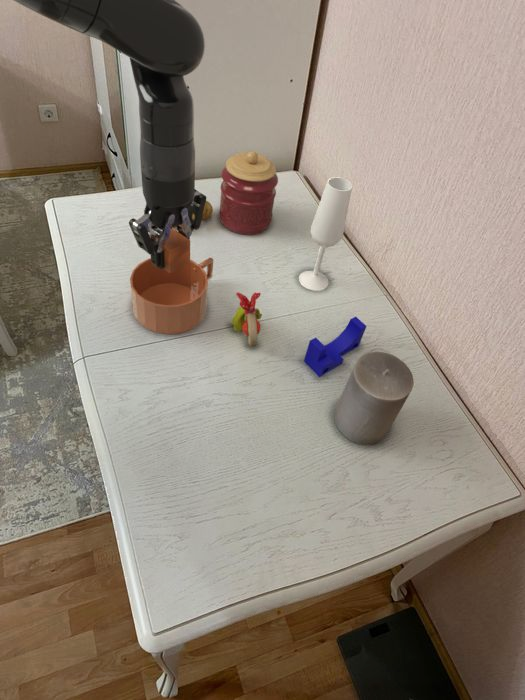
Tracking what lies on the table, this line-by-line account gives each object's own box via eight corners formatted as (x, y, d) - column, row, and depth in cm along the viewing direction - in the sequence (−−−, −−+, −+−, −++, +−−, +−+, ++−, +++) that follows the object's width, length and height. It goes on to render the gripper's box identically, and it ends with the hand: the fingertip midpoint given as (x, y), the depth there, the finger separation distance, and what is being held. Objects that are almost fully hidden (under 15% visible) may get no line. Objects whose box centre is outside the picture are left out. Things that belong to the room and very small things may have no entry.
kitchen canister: (277, 234, 121) (289, 167, 108) (224, 238, 118) (230, 168, 104) (263, 203, 129) (272, 137, 116) (213, 205, 125) (217, 137, 112)
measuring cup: (168, 346, 94) (167, 318, 89) (117, 306, 99) (113, 277, 94) (235, 298, 105) (239, 271, 99) (187, 264, 110) (187, 236, 104)
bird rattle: (266, 349, 100) (258, 307, 102) (279, 331, 89) (270, 284, 91) (235, 353, 98) (228, 309, 100) (245, 335, 88) (237, 287, 90)
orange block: (169, 273, 82) (169, 251, 78) (151, 260, 83) (150, 238, 80) (190, 261, 84) (190, 240, 81) (171, 248, 86) (171, 226, 82)
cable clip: (319, 377, 94) (326, 356, 90) (303, 361, 96) (309, 340, 92) (363, 351, 100) (372, 331, 95) (348, 337, 102) (355, 316, 97)
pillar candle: (390, 408, 91) (419, 355, 80) (383, 453, 85) (414, 403, 74) (338, 392, 92) (360, 338, 81) (328, 435, 86) (350, 383, 75)
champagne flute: (312, 266, 115) (337, 170, 97) (334, 282, 112) (364, 186, 94) (292, 278, 111) (314, 180, 93) (315, 295, 109) (342, 198, 91)
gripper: (187, 139, 76) (186, 231, 89) (109, 170, 68) (121, 266, 81) (222, 160, 73) (217, 252, 86) (146, 194, 65) (152, 291, 78)
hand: (170, 259), depth 84 cm, fingers closed on orange block, 4 cm apart
